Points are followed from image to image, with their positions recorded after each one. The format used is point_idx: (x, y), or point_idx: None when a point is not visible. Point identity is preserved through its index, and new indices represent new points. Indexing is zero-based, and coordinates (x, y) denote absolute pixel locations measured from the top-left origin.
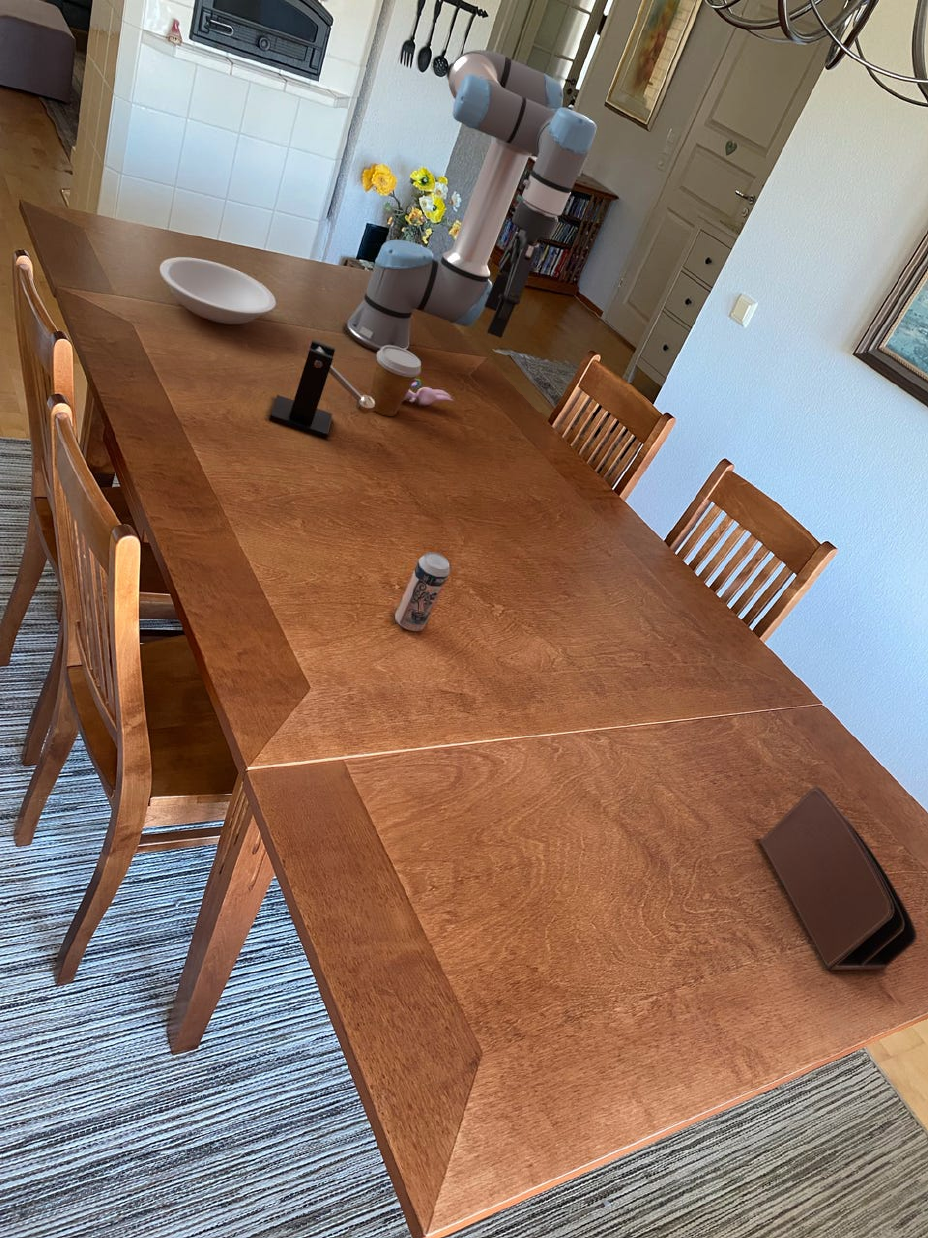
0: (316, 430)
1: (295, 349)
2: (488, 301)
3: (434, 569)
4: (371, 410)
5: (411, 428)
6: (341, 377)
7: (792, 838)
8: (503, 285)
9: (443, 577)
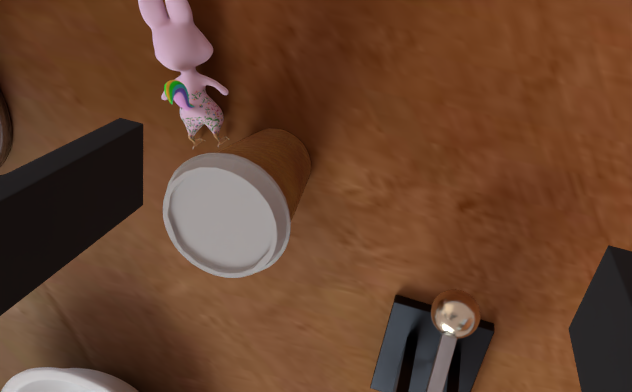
0: (486, 350)
1: (140, 299)
2: (121, 213)
3: None
4: (477, 304)
5: (341, 101)
6: None
7: None
8: (18, 232)
9: None
